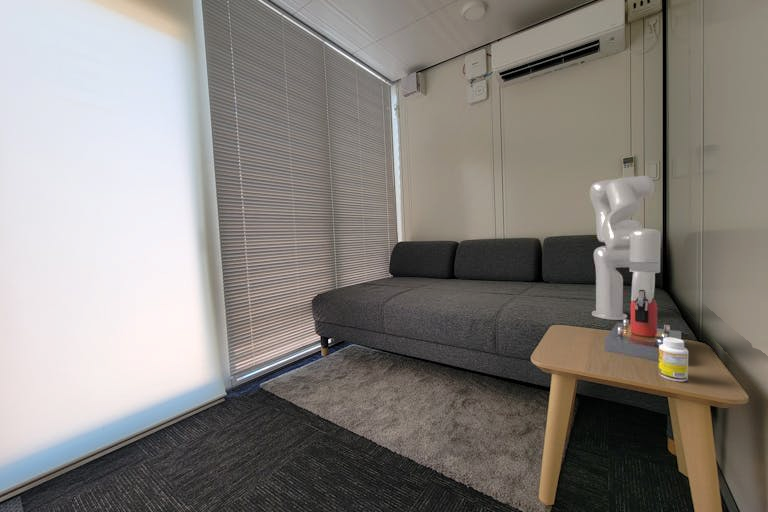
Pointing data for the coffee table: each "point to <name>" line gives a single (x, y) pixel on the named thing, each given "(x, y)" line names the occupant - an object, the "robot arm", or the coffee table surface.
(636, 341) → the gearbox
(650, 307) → the beer can
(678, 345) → the supplement bottle
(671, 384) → the coffee table surface
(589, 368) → the coffee table surface
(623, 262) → the robot arm
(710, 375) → the coffee table surface
